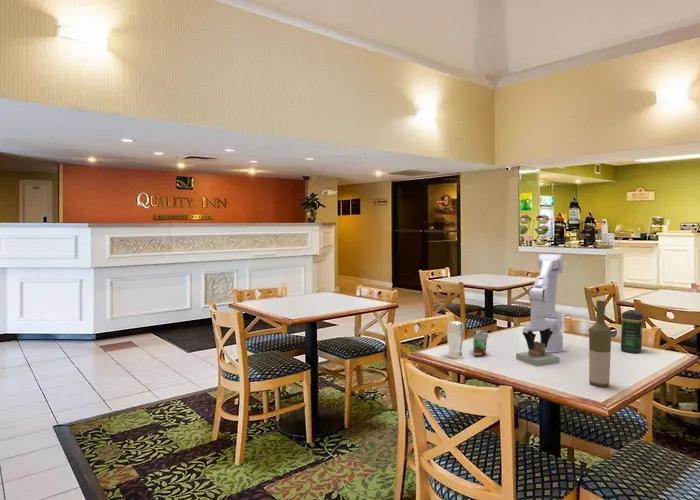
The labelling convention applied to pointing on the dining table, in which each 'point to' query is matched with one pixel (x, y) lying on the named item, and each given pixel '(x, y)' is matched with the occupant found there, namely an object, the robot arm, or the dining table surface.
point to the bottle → (599, 349)
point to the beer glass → (455, 338)
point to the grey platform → (537, 359)
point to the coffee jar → (631, 331)
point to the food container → (479, 342)
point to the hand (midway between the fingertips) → (537, 348)
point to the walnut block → (538, 349)
